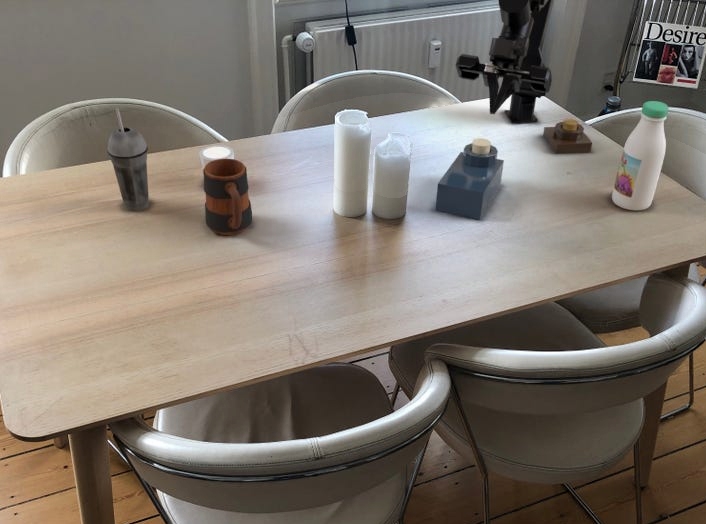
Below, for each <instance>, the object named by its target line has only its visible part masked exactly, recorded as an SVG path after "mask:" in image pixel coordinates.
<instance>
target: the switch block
mask: <svg viewBox="0 0 706 524" xmlns="http://www.w3.org/2000/svg"><path fill="white" fill-rule="evenodd" d="M562 125H563V121H560V122H556V123H555V125H554V126H544V127H543V133H542V137H543V138H544V140H545V141H546V143H547V144H548V146H549V147H550V148H551V149H552V151H553V152H554V154H556V155H557V154H578V153H579V154H580V153H591V152H592V148H593V142H592V140H591V139H590V138H589V137H588V136H587V134H586V133H585V132H584V131H585V128H584V126H583V125H582V124H580V123H578V125H577V130H575V131H568V130H564V129H562Z"/></svg>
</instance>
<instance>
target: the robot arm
mask: <svg viewBox="0 0 706 524" xmlns="http://www.w3.org/2000/svg"><path fill="white" fill-rule="evenodd" d="M554 1H555V0H498V7H499V13H500V19H501V22H502V23H503V24H502V27H501V31H500V33H499V36H498V37H492V38H491V42H490V48H489V52H488V55H489V62H491V63H481V61H480V58H479V55H478V56H477V55H473V54H466V53H461V54H460V55H459V56H458V57H457V58H456V62H455V68H456V71H457V72H456V73H457V77H458V78H460V79H462V80H467V81H476V80H477V79H479V78H480V75H481V76H482V79H483V85H484V87H487V88H488V93H489V94H488V96H489V98H488V99H489V114H490V115H495V114H496V113H497V111H499V110H500V108H501V107H502V106H503V104H504V103H505V102H506V101H507V100H508V99H509V98H510V103H509V109H505V110H503V113H504V115H505V116H506V118H507V120H509V122H510V123H511V124H525V123H538V122H539V119H538V118H537V116H536V115H535V108H536V101H537V98H538V99H541V98H542V97H545V96H546V95H547V93H550V90H551V86H552V81H553V80H552V79H553V78H552V69H550V67H547V66H546V64H545V61H544V58H543V54H542V50H543V46H544V43H545V38H546V35H547V30H548V26H549V22H550V18H551V14H552V9H553V6H554ZM500 78H501V79H502V81H501V85H500V83H499V80H500Z"/></svg>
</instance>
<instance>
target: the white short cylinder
mask: <svg viewBox="0 0 706 524" xmlns="http://www.w3.org/2000/svg"><path fill="white" fill-rule="evenodd" d="M471 143H472V152H473V153H475V154H480V155H481V154H489V153H490V147H491V145H492V142H491V141H490V140H489V139H487V138H484V137H483V138H482V137H480V138H474V139H473V140H472V142H471Z"/></svg>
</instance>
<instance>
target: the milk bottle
mask: <svg viewBox="0 0 706 524" xmlns="http://www.w3.org/2000/svg"><path fill="white" fill-rule="evenodd" d="M669 111H670V110H669V105H667V104H666V103H664V102H662V101H658V100H657V101H656V100H648V101H646V102H644V103H643V105H642V107H641V112H640V116H641V117H640V120H639V122H638V123H637V125H636V126H635V128H634V129H633V130H632V131H631V133H630V134H629V135H628V137H627V139H626V141H625V144H624V147H623V151H622V154H621V157H620V162H619V165H618V169H617V174H616V178H615V181H614V186H613V190H612V194H611V199H612V202H613V203H614V204H615V205H616V206H618V207H620V208H621V209H624V210H629V211H644V210H646V209H648V208H650V206H651V205H652V203H653V199H654V197H655V194H656V189H657V186H658V182H659V178H660V175H661V171H662V168H663V164H664V159H665V155H666V149H667V140H666V134H665V127H664V126H665V125H664V124H665V120H667V116H668V114H669Z"/></svg>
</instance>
